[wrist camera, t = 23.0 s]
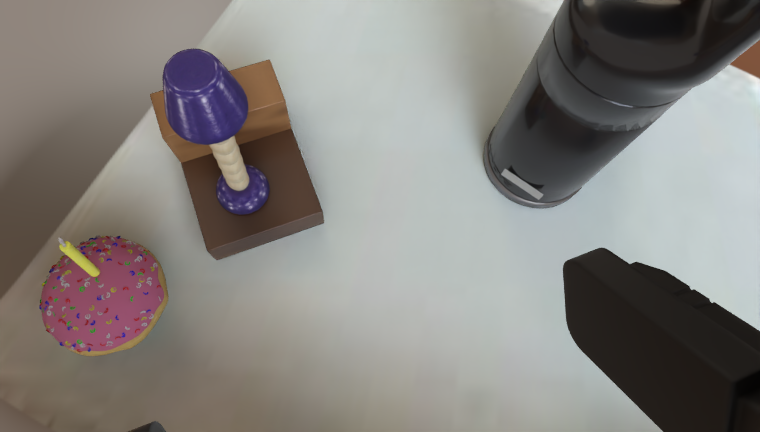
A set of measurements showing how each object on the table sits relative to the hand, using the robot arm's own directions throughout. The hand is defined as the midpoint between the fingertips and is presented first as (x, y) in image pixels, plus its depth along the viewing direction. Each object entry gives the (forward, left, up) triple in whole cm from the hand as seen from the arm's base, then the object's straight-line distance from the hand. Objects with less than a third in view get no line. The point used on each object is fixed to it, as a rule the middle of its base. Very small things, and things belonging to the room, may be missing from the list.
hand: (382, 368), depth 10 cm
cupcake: (+15, -13, -33) cm, 38 cm away
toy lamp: (+3, -17, -30) cm, 35 cm away
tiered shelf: (+3, -20, -33) cm, 38 cm away
